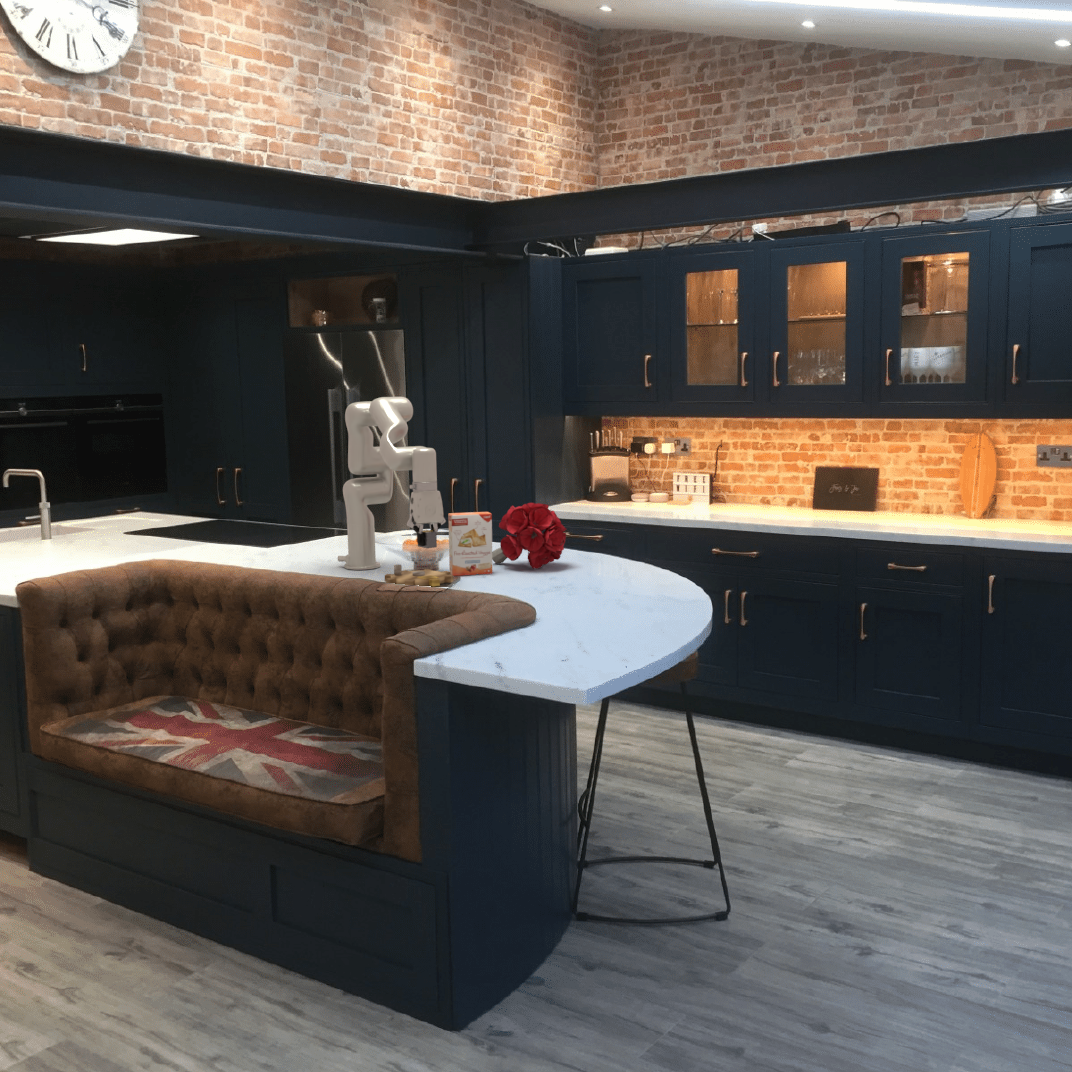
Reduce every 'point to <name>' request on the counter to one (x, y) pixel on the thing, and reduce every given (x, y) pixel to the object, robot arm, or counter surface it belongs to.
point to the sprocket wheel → (418, 577)
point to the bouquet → (531, 535)
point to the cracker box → (470, 543)
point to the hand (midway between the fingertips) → (427, 544)
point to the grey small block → (429, 539)
